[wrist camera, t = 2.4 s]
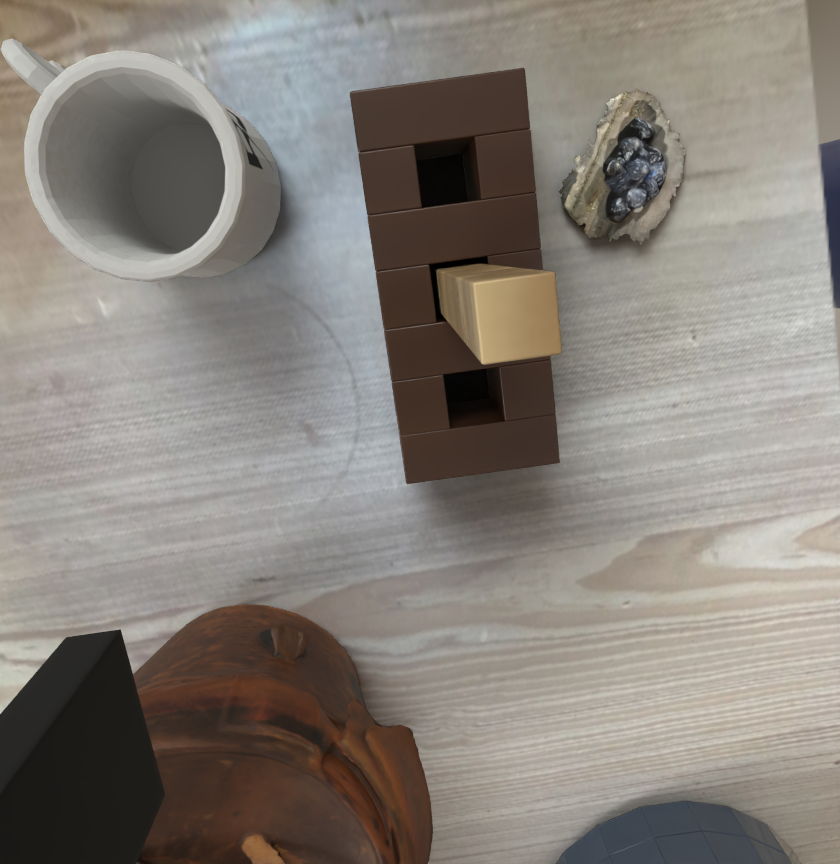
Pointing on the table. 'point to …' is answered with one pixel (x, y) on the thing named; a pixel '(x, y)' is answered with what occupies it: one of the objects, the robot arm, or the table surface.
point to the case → (275, 750)
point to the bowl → (681, 838)
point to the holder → (449, 241)
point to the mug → (144, 167)
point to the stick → (500, 310)
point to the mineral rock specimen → (626, 171)
